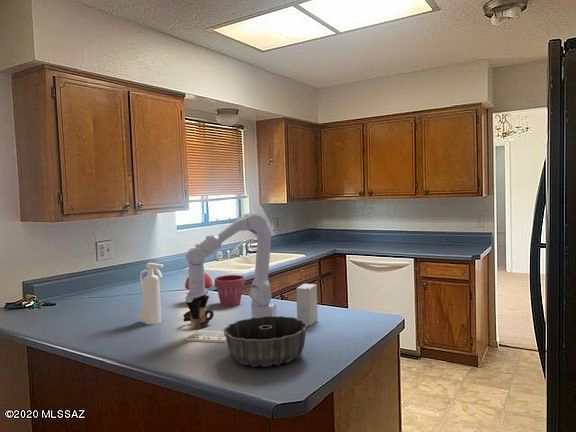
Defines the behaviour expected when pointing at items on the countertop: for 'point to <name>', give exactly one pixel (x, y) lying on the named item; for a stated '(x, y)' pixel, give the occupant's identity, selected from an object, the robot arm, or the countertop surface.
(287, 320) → the bundt pan
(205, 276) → the decorative mushroom
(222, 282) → the plant pot
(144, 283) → the fire extinguisher
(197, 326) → the pottery mug
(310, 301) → the skincare box
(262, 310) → the robot arm
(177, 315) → the countertop surface
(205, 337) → the board
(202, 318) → the walnut block
